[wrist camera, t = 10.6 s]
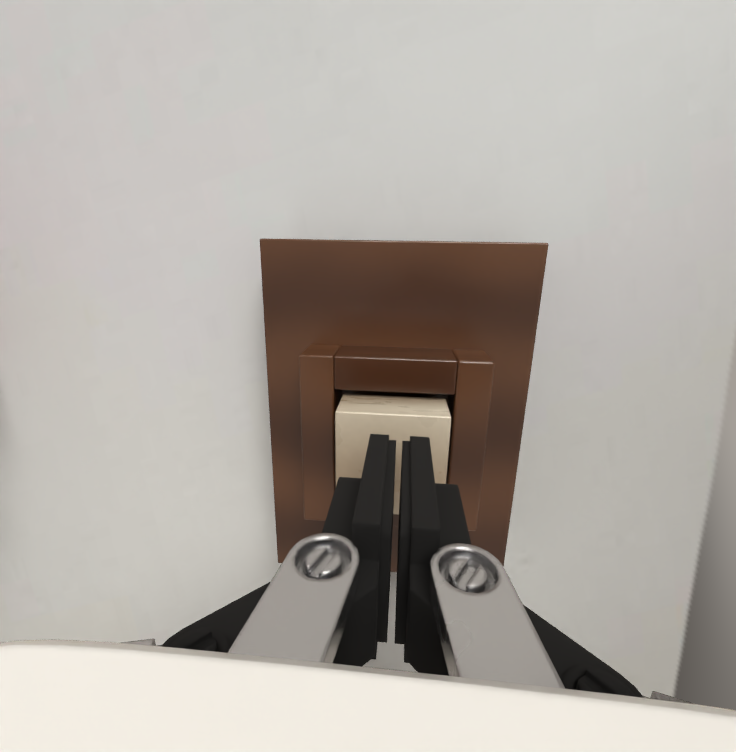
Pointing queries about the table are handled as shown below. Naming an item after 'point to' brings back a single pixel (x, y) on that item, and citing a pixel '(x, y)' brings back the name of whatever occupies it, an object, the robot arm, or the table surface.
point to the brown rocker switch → (399, 362)
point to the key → (390, 431)
